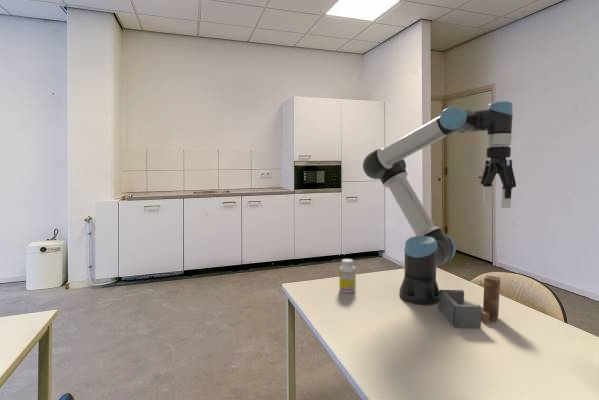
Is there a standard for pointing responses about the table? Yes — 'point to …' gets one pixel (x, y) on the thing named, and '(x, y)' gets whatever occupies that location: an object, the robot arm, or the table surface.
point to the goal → (459, 309)
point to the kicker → (490, 299)
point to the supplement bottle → (347, 276)
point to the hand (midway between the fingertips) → (496, 205)
